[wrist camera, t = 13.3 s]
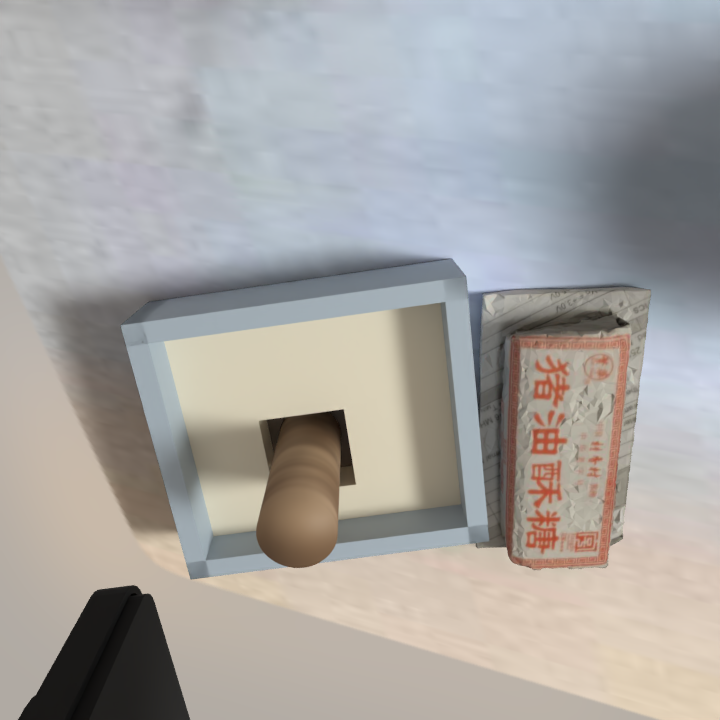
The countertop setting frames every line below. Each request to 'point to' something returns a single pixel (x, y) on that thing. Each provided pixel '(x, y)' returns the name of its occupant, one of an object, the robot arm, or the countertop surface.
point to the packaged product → (559, 419)
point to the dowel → (302, 492)
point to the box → (316, 408)
